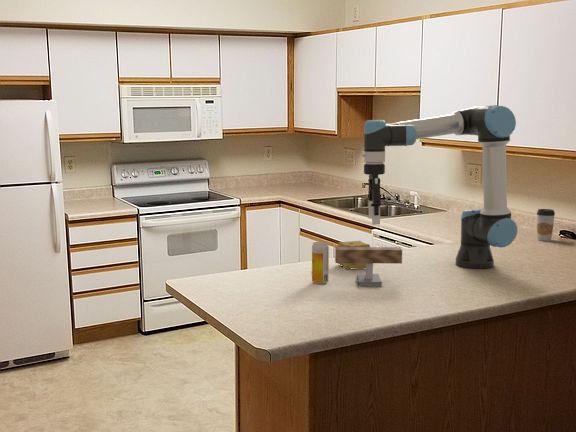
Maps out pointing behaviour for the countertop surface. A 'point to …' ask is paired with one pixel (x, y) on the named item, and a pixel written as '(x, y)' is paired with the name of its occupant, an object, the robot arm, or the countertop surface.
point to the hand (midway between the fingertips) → (374, 221)
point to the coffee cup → (545, 224)
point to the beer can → (320, 262)
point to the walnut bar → (368, 255)
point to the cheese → (353, 244)
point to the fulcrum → (369, 278)
